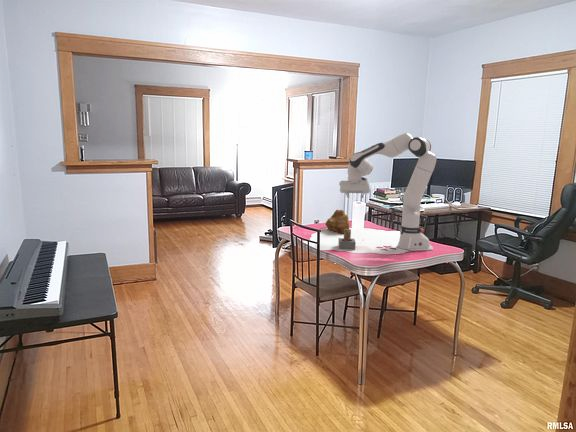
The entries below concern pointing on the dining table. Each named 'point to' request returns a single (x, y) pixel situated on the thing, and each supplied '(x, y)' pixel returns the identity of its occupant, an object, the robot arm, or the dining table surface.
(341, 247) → the charcoal end cap
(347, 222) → the rough brown rock
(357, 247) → the cream base board
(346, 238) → the walnut slat
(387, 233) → the dining table surface
